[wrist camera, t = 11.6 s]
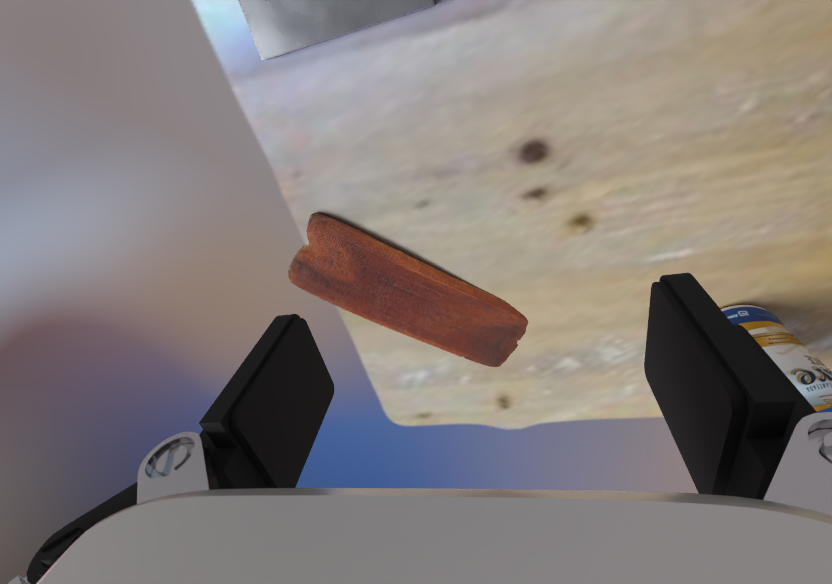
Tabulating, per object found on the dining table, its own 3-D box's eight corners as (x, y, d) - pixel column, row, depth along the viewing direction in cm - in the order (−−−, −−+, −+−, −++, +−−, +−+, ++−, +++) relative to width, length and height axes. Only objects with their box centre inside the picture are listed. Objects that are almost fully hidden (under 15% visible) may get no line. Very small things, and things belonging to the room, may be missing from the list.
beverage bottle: (665, 337, 43) (785, 530, 27) (744, 285, 39) (945, 477, 22) (715, 377, 45) (856, 580, 29) (796, 332, 41) (1015, 540, 24)
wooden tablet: (287, 278, 46) (281, 285, 45) (314, 203, 41) (308, 209, 39) (492, 372, 50) (492, 382, 48) (541, 315, 44) (543, 324, 43)
